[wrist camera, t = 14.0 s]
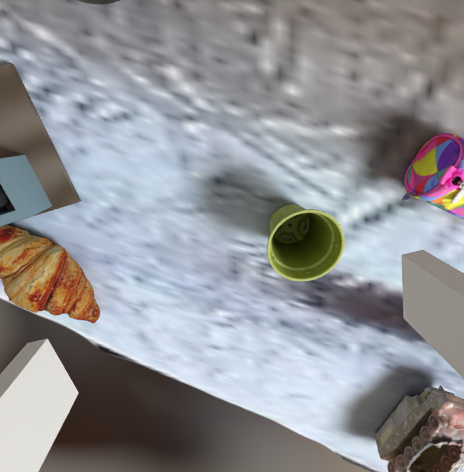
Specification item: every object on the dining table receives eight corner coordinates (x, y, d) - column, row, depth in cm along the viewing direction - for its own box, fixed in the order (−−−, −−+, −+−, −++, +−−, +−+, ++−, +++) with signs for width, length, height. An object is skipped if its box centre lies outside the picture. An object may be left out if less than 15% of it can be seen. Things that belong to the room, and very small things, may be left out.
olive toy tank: (348, 429, 60) (372, 483, 51) (410, 358, 54) (449, 405, 45) (398, 445, 63) (429, 499, 54) (461, 380, 57) (508, 428, 48)
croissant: (-12, 219, 44) (-69, 254, 38) (1, 186, 37) (-65, 221, 32) (100, 307, 50) (66, 349, 44) (127, 291, 44) (91, 337, 38)
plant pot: (314, 254, 45) (336, 283, 37) (254, 252, 45) (263, 280, 36) (325, 195, 42) (352, 212, 34) (260, 191, 41) (272, 207, 33)
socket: (-26, 170, 37) (-61, 177, 33) (24, 154, 37) (-3, 159, 32) (4, 220, 40) (-24, 233, 35) (52, 206, 40) (30, 217, 35)
